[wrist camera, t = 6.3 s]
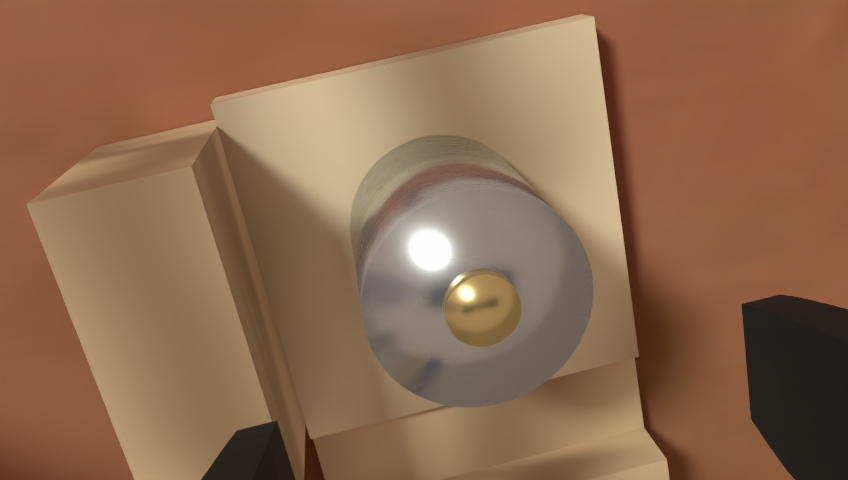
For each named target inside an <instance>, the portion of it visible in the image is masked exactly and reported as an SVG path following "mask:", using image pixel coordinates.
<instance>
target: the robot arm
mask: <svg viewBox="0 0 848 480" xmlns="http://www.w3.org/2000/svg"><path fill="white" fill-rule="evenodd" d="M742 313H743V326H744V338H745V350H746V362H747V374H748V386H749V399H750V411H751V419H752V421H753V422H754V424H755V425H756V427H757V428H758V430H759V431H760V433H761V434H762V436H763V437H764V439H765V440H766V442H767V443H768V445H769V446H770V448H771V449H772V450H773V452H774V453H775V455H776V456H777V457H778V459H779V460H780V461H781V463H782V464H783V466H784V467H785V468H786V470H787V471H788V472H789V473H790V474H791V475H792V477H793V478H794V479H795V480H848V309H844V308H840V307H836V306H833V305H829V304H825V303H820V302H816V301H812V300H808V299H803V298H798V297H793V296H786V295H777V296H773V297H769V298H765V299H761V300H757V301H753V302H749V303H745V304H742ZM201 480H296V479H295V476H294V473H293V470H292V467H291V463H290V460H289V457H288V454H287V451H286V447H285V444H284V441H283V438H282V435H281V431H280V428H279V425H278V422H277V421H273V422H269V423H265V424H261V425H257V426H253V427H249V428H245V429H241V430H237V431H236V432H235V433H234V435H233V436H232V437H231V438H230V440H229V441H228V443H227V444H226V445H225V447H224V448H223V449H222V451H221V452H220V454H219V455H218V457H217V458H216V459H215V461H214V462H213V464H212V465H211V466H210V468H209V469H208V471H207V472H206V473H205V475H204V476H203V478H202V479H201Z"/></svg>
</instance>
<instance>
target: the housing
mask: <svg viewBox="0 0 848 480" xmlns="http://www.w3.org/2000/svg"><path fill="white" fill-rule="evenodd" d="M350 235H351V242H352V249H353V256H354V263H355V270H356V277H357V284H358V291H359V297H360V304H361V311H362V318H363V324H364V330H365V333H366V336H367V340H368V343H369V345H370V347H371V349H372V351H373V353H374V355H375V357H376V359H377V360H378V361H379V363H380V364H381V366H382V367H383V369H384V370H385V371H386V372H387V373H388V374H389V375H390V376H391V377H392V378H393V379H394V380H395V381H396V382H398V383H399V384H400V385H401V386H402V387H404V388H405V389H407V390H409V391H410V392H412V393H413V394H415V395H417V396H420V397H422V398H424V399H426V400H429V401H432V402H435V403H438V404H442V405H448V406H454V407H469V408H470V407H485V406H490V405H496V404H500V403H503V402H507V401H510V400H513V399H515V398H518V397H520V396H522V395H525V394H527V393H528V392H530V391H532V390H534V389H535V388H537V387H539V386H540V385H542V384H543V383H544V382H546V381H547V380H548V379H550V378H551V377H552V376H553V375H554V374H555V373H556V372H557V371H558V370H560V369H561V368H562V366H563V365H564V364H565V363H566V362H567V361H568V359H569V358H570V357H571V356H572V354H573V353H574V351H575V350H576V348H577V347H578V345H579V343H580V341H581V339H582V337H583V335H584V333H585V331H586V328H587V325H588V322H589V319H590V315H591V310H592V306H593V294H594V288H593V275H592V270H591V266H590V262H589V259H588V256H587V253H586V251H585V249H584V247H583V245H582V243H581V241H580V239H579V238H578V236H577V235H576V233H575V232H574V231H573V229H572V228H571V227H570V226H569V225H568V224H567V223H566V222H565V220H564V219H563V218H562V217H561V216H560V215H559V214H558V213H557V212H556V211H555V210H554V209H553V208H552V207H551V206H550V205H549V204H548V203H547V202H546V201H545V200H544V199H543V198H542V197H541V196H540V195H539V194H538V193H537V192H536V191H535V190H534V189H533V188H532V187H531V186H530V185H529V184H528V183H527V182H526V181H525V180H524V179H523V178H522V177H521V176H520V175H519V174H518V173H517V172H516V171H515V170H514V169H513V168H512V167H511V166H510V165H509V164H508V163H507V162H506V161H505V160H504V159H503V158H502V157H501V156H500V155H499V154H497V153H496V152H495V151H494V150H492V149H491V148H489V147H487V146H486V145H484V144H482V143H480V142H477V141H475V140H472V139H469V138H465V137H461V136H455V135H431V136H424V137H420V138H417V139H413V140H410V141H408V142H406V143H403V144H401V145H399V146H397V147H396V148H394V149H392V150H391V151H389V152H388V153H387V154H385V155H384V156H383V157H382V158H380V159H379V160H378V161H377V162H376V163H375V164H374V165H373V166H372V167H371V169H370V170H369V171H368V173H367V174H366V175H365V177H364V178H363V180H362V182H361V184H360V185H359V187H358V189H357V192H356V194H355V197H354V200H353V204H352V208H351V215H350Z"/></svg>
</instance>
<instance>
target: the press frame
mask: <svg viewBox="0 0 848 480" xmlns="http://www.w3.org/2000/svg"><path fill="white" fill-rule="evenodd" d="M210 105H211V108H212V112H213V115H214V118H215V120H212V121H207V122H203V123H199V124H194V125H190V126H185V127H181V128H177V129H172V130H168V131H164V132H159V133H155V134H151V135H146V136H142V137H138V138H133V139H129V140H124V141H120V142H116V143H111V144H107V145H103V146H98V147H96V148H95V149H94V150H93V151H91V152H90V153H89V154H88V155H86V156H85V157H84V158H83V159H82V160H80V161H79V162H78V163H77V164H75V165H74V166H73V167H72V168H70V169H69V170H68V171H67V172H66V173H64V174H63V175H62V176H61V177H59V178H58V179H57V180H56V181H55V182H53V183H52V184H51V185H50V186H48V187H47V188H46V189H45V190H43V191H42V192H41V193H40V194H39V195H37V196H36V197H35V198H34V199H32V200H31V201H30V202H29V203H28V204H26V205H27V207H28V210H29V212H30V215H31V217H32V220H33V222H34V225H35V228H36V230H37V233H38V235H39V238H40V240H41V243H42V245H43V248H44V250H45V253H46V256H47V258H48V261H49V263H50V266H51V268H52V271H53V273H54V276H55V278H56V281H57V284H58V286H59V289H60V291H61V294H62V296H63V299H64V301H65V304H66V307H67V309H68V312H69V314H70V317H71V319H72V322H73V324H74V327H75V329H76V332H77V335H78V337H79V340H80V342H81V345H82V347H83V350H84V352H85V355H86V357H87V360H88V363H89V365H90V368H91V370H92V373H93V375H94V378H95V380H96V383H97V385H98V388H99V391H100V393H101V396H102V398H103V401H104V403H105V406H106V408H107V411H108V414H109V416H110V419H111V421H112V424H113V426H114V429H115V431H116V434H117V436H118V439H119V442H120V444H121V447H122V449H123V452H124V454H125V457H126V459H127V462H128V464H129V467H130V470H131V472H132V475H133V477H134V480H201V479H202V478H203V476H204V475H205V473H206V472H207V471H208V469H209V468H210V466H211V465H212V464H213V462H214V461H215V459H216V458H217V457H218V455H219V454H220V452H221V451H222V449H223V448H224V447H225V445H226V444H227V443H228V441H229V440H230V438H231V437H232V436H233V435H234V433H235V432H236V431H237V430H241V429H245V428H249V427H253V426H257V425H261V424H265V423H269V422H273V421H277V422H278V425H279V428H280V431H281V435H282V438H283V441H284V444H285V447H286V451H287V454H288V457H289V460H290V463H291V467H292V470H293V473H294V476H295V479H296V480H304V469H305V426H307V430H308V433H309V436H310V439H313V441H314V445H315V448H316V451H317V455H318V458H319V461H320V465H321V468H322V472H323V475H324V478H325V480H669V472H668V464H667V459H666V458H665V456H664V455H663V453H662V452H661V451H660V449H659V448H658V446H657V445H656V444H655V442H654V441H653V439H652V438H651V437H650V435H649V434H648V432H647V431H646V430H645V428H644V424H643V416H642V409H641V401H640V394H639V386H638V379H637V372H636V364H635V358H636V357H639V352H638V345H637V337H636V330H635V322H634V314H633V307H632V299H631V292H630V284H629V277H628V269H627V262H626V254H625V246H624V239H623V231H622V224H621V216H620V209H619V201H618V194H617V186H616V178H615V171H614V163H613V156H612V148H611V141H610V133H609V126H608V118H607V110H606V103H605V95H604V88H603V80H602V73H601V65H600V58H599V50H598V43H597V35H596V27H595V20H594V17H593V16H587V15H582V14H580V15H576V16H571V17H567V18H563V19H558V20H554V21H550V22H545V23H541V24H536V25H532V26H528V27H523V28H519V29H515V30H510V31H506V32H501V33H497V34H493V35H488V36H484V37H479V38H475V39H471V40H466V41H462V42H458V43H453V44H449V45H444V46H440V47H436V48H431V49H427V50H422V51H418V52H414V53H409V54H405V55H401V56H396V57H392V58H387V59H383V60H379V61H374V62H370V63H366V64H361V65H357V66H352V67H348V68H344V69H339V70H335V71H330V72H326V73H322V74H317V75H313V76H309V77H304V78H300V79H295V80H291V81H287V82H282V83H278V84H273V85H269V86H265V87H260V88H256V89H252V90H247V91H243V92H238V93H234V94H230V95H225V96H221V97H217V98H215V99H214V100H213V102H212V103H211V104H210ZM431 135H455V136H461V137H465V138H469V139H472V140H475V141H477V142H480V143H482V144H484V145H486V146H487V147H489V148H491V149H492V150H494V151H495V152H496V153H497V154H499V155H500V156H501V157H502V158H503V159H504V160H505V161H506V162H507V163H508V164H509V165H510V166H511V167H512V168H513V169H514V170H515V171H516V172H517V173H518V174H519V175H520V176H521V177H522V178H523V179H524V180H525V181H526V182H527V183H528V184H529V185H530V186H531V187H532V188H533V189H534V190H535V191H536V192H537V193H538V194H539V195H540V196H541V197H542V198H543V199H544V200H545V201H546V202H547V203H548V204H549V205H550V206H551V207H552V208H553V209H554V210H555V211H556V212H557V213H558V214H559V215H560V216H561V217H562V218H563V219H564V220H565V222H566V223H567V224H568V225H569V226H570V227H571V228H572V229H573V231H574V232H575V233H576V235H577V236H578V238H579V239H580V241H581V243H582V245H583V247H584V249H585V251H586V253H587V256H588V259H589V262H590V266H591V270H592V275H593V288H594V294H593V306H592V310H591V315H590V319H589V322H588V325H587V328H586V331H585V333H584V335H583V337H582V339H581V341H580V343H579V345H578V347H577V348H576V350H575V351H574V353H573V354H572V356H571V357H570V358H569V359H568V361H567V362H566V363H565V364H564V365H563V366H562V368H561V369H560V370H558V371H557V372H556V373H555V374H554V375H553V376H552V377H551V378H550V379H548V380H547V381H546V382H544V383H543V384H542V385H540V386H539V387H537V388H535V389H534V390H532V391H530V392H528V393H527V394H525V395H522V396H520V397H518V398H515V399H513V400H510V401H507V402H503V403H500V404H496V405H490V406H485V407H470V408H469V407H454V406H448V405H442V404H438V403H435V402H432V401H429V400H426V399H424V398H422V397H420V396H417V395H415V394H413V393H412V392H410V391H409V390H407V389H405V388H404V387H402V386H401V385H400V384H399V383H398V382H396V381H395V380H394V379H393V378H392V377H391V376H390V375H389V374H388V373H387V372H386V371H385V370H384V369H383V367H382V366H381V364H380V363H379V361H378V360H377V359H376V357H375V355H374V353H373V351H372V349H371V347H370V345H369V343H368V340H367V336H366V333H365V330H364V324H363V318H362V311H361V304H360V297H359V291H358V284H357V277H356V270H355V263H354V256H353V249H352V242H351V235H350V215H351V208H352V204H353V200H354V197H355V194H356V192H357V189H358V187H359V185H360V184H361V182H362V180H363V178H364V177H365V175H366V174H367V173H368V171H369V170H370V169H371V167H372V166H373V165H374V164H375V163H376V162H377V161H378V160H379V159H380V158H382V157H383V156H384V155H385V154H387V153H388V152H389V151H391V150H392V149H394V148H396V147H397V146H399V145H401V144H403V143H406V142H408V141H410V140H413V139H417V138H420V137H424V136H431Z"/></svg>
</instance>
